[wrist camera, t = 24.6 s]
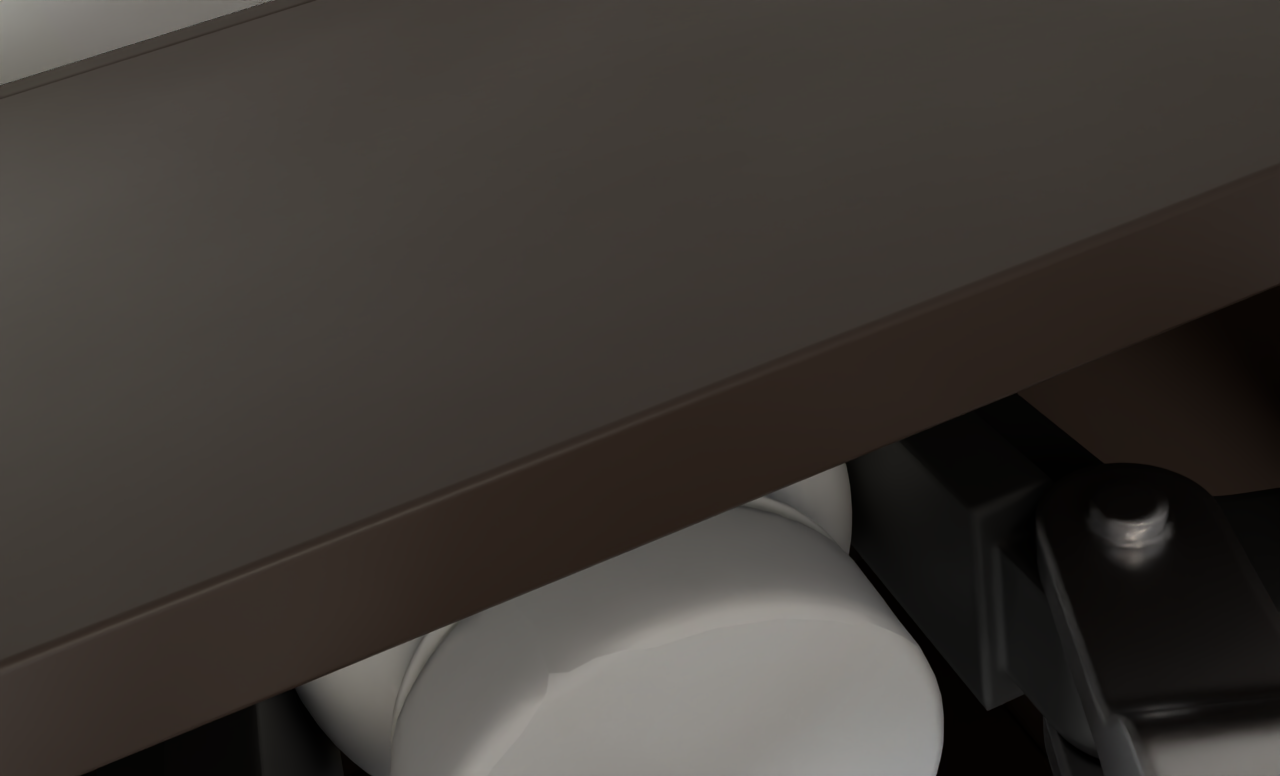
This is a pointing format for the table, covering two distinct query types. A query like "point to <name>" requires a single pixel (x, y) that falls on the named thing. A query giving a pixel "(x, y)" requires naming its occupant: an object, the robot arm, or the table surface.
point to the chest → (580, 308)
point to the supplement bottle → (662, 665)
